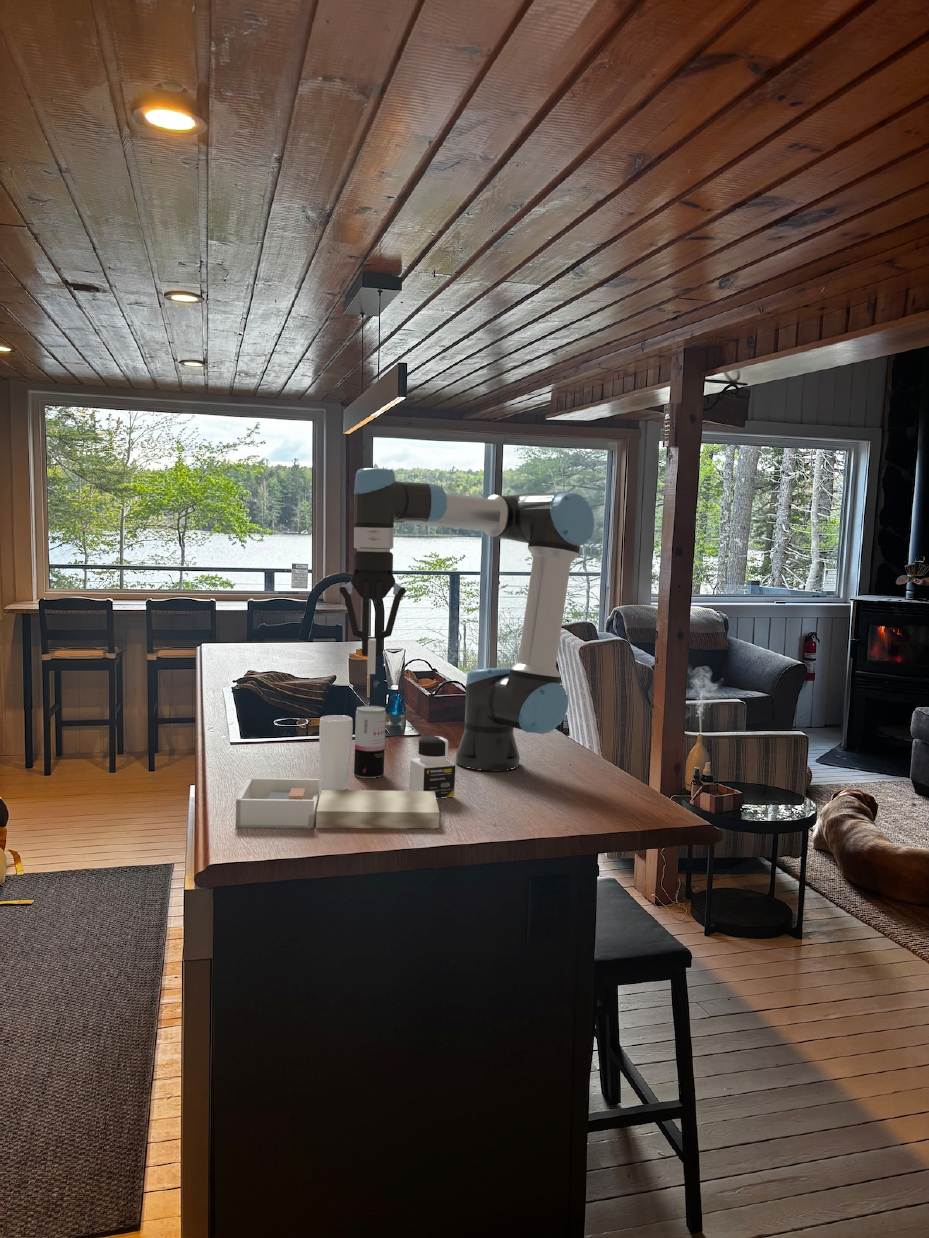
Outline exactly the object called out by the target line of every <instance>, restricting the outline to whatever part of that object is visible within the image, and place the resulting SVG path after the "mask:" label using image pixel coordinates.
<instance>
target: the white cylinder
mask: <svg viewBox="0 0 929 1238" xmlns="http://www.w3.org/2000/svg"><path fill="white" fill-rule="evenodd" d="M353 725H354V723H353V718H352V717H351V716H349V715H340V714H339V715H338V714H337V715H336V714H333V715H331V714H330V715H323V716H321V717H320V719H319V730H318V731H319V732H318V734H319V735H318V738H319V739H318V740H319V755H320V756H319V757H320V773H321V774H320V777H321V780H320V781H321V784H320V786H321V790H348V779H349V771H350V770H349V769H350V761H351V760H350V759H351V752H352V745H353V731H354V730H353V727H354V726H353Z"/></svg>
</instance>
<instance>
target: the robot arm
mask: <svg viewBox="0 0 929 1238" xmlns="http://www.w3.org/2000/svg"><path fill="white" fill-rule="evenodd" d="M353 494H354V501H353V502H354V507H353V508H354V510H353V511H354V512H353V513H354V514H353V516H354V518H353V523H354V525H353V526H354V527H353V548H354V549H356V550H355V551H354V553H353V567H352V568H353V570H352V572H353V573H352V576H351V577H350V581H349V582H347V583H346V584H344V585H340V587H339V588H338V589H339V590H338V591H339V592H340V594H341V595H342V597H343V598H344V602H345V606H346V610H347V611H346V612H347V614H348V619H349V624H350V627H351V631H352V635H353V636H354V637H357V638H359V639H360V640H361V655H362V656H363V657H367V675H376V662H377V661H376V658H377V657H382V654H383V652H382V650H383V640H384V639H385V638H389V637H391V636H392V633H393V630H394V626H395V622H396V617H397V614H398V612H399V611H398V610H399V606H400V603H401V600H402V599H403V597H404V595H405V594H406V592H407V590H406V588H405V587H404V586H401V585H400V584H398V583H396V579H395V576H394V554H393V552H391V550H392V549H394V530H395V525H394V524H395V523H396V524H405V525H406V524H408V525H419V526H426V527H437V528H447V529H459V530H466V531H467V530H469V531H477V532H478V531H480V532H483V533H484V534H485V535H487V536H489V537H494V538H501V539H507V540H510V541H511V540H512V541H516V542H519V543H525V544H527V550H528V551H529V553H530V554H531V555H532V563H531V568H530V569H531V570H530V576H529V577H530V578H529V583H528V590H527V591H528V592H527V597H526V605H525V610H524V611H525V612H524V617H523V624H522V631H521V639H520V644H519V645H520V646H519V653H518V658H517V662H516V663H514V664H513V665H512V666H511V667H489V668H487V667H486V668H474V669H471V670H469V671H468V673H467V675H466V684H465V702H464V703H465V707H464V708H465V709H464V731H463V734H462V737H461V739H460V742H459V744H458V748H457V751H456V754H455V764H456V763H458V764H460V765H461V766H464V767H470V768H474V769H481V770H507V769H511V768H514V767H517V766H518V765H519V766H520V759H521V758H520V753H519V749H518V746H517V742H516V738H515V735H514V729H517V730H522V731H525V733H531V734H533V733H534V734H540V735H542V734H543V735H544V734H548V733H550V732H553V731H554V730H555V729H557V727H558V726H560V725H561V723H562V722H563V721H564V719H565V716H566V715H567V713H568V707H569V696H568V694H567V691H566V689H565V688H564V687H563V685H562V684H561V680H562V674H561V673H560V671H559V670H558V669H557V667H556V665H557V660H558V653H559V648H560V647H559V646H560V640H561V634H562V627H563V626H562V624H563V620H564V612H565V606H566V605H565V604H566V597H567V592H568V585H569V580H570V579H569V577H570V573H571V572H570V571H571V564H572V562H573V560H575V559H576V558H578V557H579V556H580V549H581V546H583V545H585V544H587V543H588V541H589V540H590V539H591V537H592V536H593V533H594V530H595V517H594V511H593V509H592V507H591V506H590V505H589V502H588V501H587V499H586V498H585V497H583V496H582V495H580V494H579V493H576V492H566V491H557V492H541V493H539V492H538V493H535V492H534V493H533V492H532V493H522V494H513V495H512V494H511V495H500V494H492V495H490V496H488V497H487V498H485V497H480V496H479V497H478V496H470V495H464V494H454V493H448V492H446V491H445V490H444V488H443V487H442V486H441V485H439V484H433V483H429V482H426V483H425V482H409V481H408V482H407V481H399V480H396V477H395V471H394V470H392V469H388V468H379V467H378V468H376V467H373V468H372V467H370V468H369V467H365V468H360V469H358V470H357V471H356V473H355V479H354V490H353ZM352 588H354V590H355V592H356V593H357V594H358V596H360V598H362V612H361V613H362V615H361V616H362V618H361V619H362V620H361V621H362V622H361V624H362V625H361V629H362V630H361V629H359V625H358V621H357V617H356V612H355V607H354V604H353V602H354V601H353V599H352V596H351V595H352V594H353V589H352ZM392 589H393V591H392V594H393V595H394V597H393V600H392V604H391V608H390V611H389V615H388V620H387V623H386V627H385V630H383V605H384V604H383V602H384V601H383V599H384V598H386V597H387V595H388V594H389V593H390V591H391V590H392ZM370 599H374V600H375V606H376V607H375V638H369V630H370V629H369V627H370V626H369V625H370V624H369V621H370ZM461 766H460V767H461ZM464 767H463V768H464ZM517 768H518V767H517ZM507 771H508V770H507Z"/></svg>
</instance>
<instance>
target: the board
mask: <svg viewBox="0 0 929 1238" xmlns="http://www.w3.org/2000/svg"><path fill="white" fill-rule="evenodd" d="M315 828H316V829H318V828H320V829H321V828H322V829H323V828H324V829H327V828H328V829H333V828H334V829H407V828H426V830H430V829H431V830H432V829H433V830H436V829H435V828H439V829H440V810H439V805H438V799H437V800H436V795H435V791H409V790H375V789H374V790H373V789H371V790H370V789H369V790H368V789H365V790H364V789H363V790H362V789H358V790H357V789H355V790H354V789H346V790H323V789H321V790H320V793H319V802H318V807H317V811H316V818H315ZM428 828H430V829H428Z"/></svg>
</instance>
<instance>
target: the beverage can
mask: <svg viewBox="0 0 929 1238" xmlns="http://www.w3.org/2000/svg"><path fill="white" fill-rule="evenodd" d="M386 717H387V711H386V707H383V706H378V705H362V706H357V707H356V711H355V733H354V759H353V760H354V761H353V762H354V764H353V766H354V767H353V774H354V776H356V777H357V778H359V777H360V779H365V778H374V779H377V778H376V777H379V778H380V777H382V776H383V775H384V774H385V773H384V772H385V750H386V749H385V747H386V719H387V718H386Z"/></svg>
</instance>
